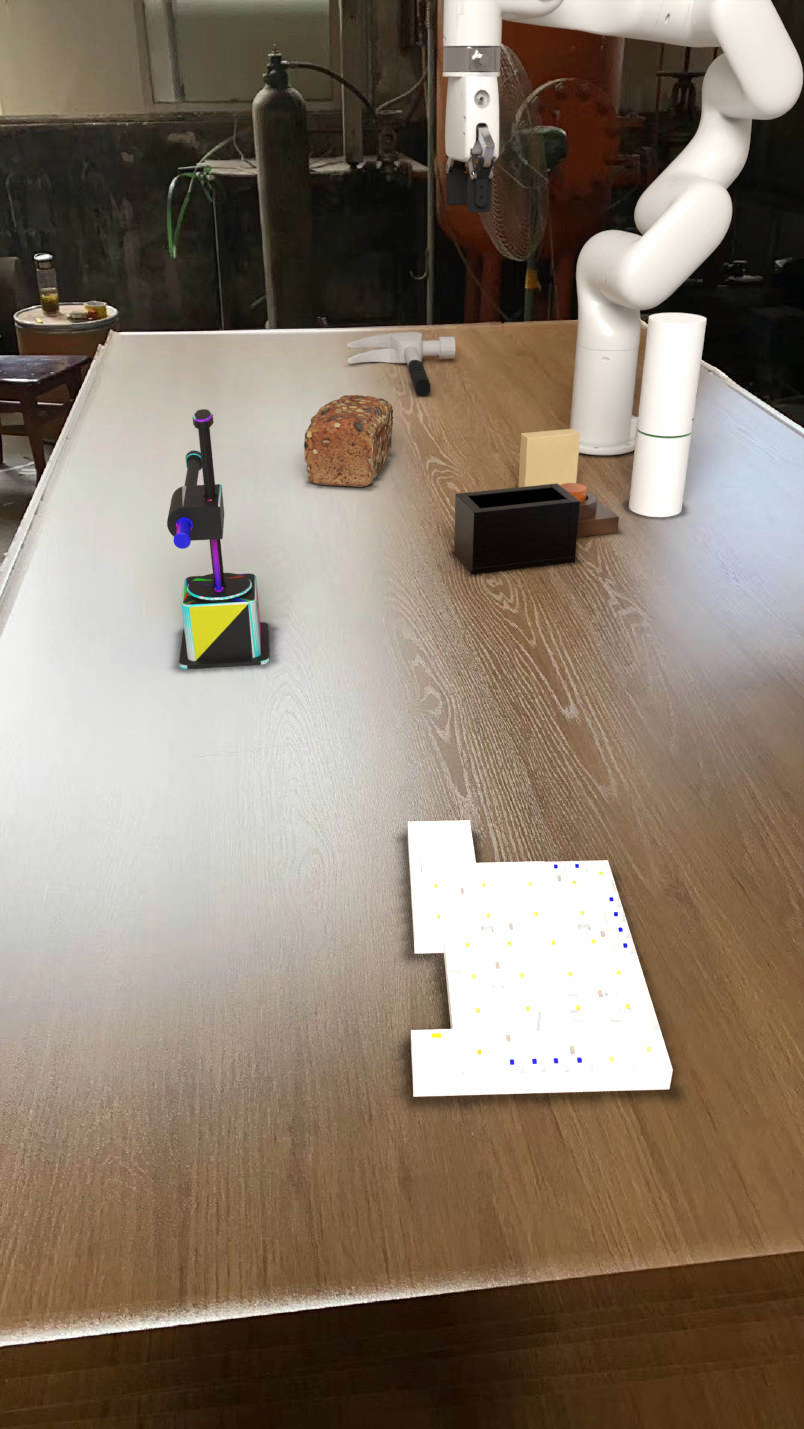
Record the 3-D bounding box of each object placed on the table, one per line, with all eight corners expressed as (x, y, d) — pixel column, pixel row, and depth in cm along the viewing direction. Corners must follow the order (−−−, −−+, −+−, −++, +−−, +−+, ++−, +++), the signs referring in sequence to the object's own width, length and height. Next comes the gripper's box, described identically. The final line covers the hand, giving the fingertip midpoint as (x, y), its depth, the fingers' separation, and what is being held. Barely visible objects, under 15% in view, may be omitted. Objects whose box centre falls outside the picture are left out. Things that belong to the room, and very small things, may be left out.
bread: (373, 490, 157) (372, 421, 152) (301, 486, 158) (298, 417, 153) (396, 451, 172) (395, 387, 167) (330, 448, 174) (328, 385, 169)
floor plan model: (413, 1096, 64) (413, 1074, 63) (400, 838, 86) (400, 819, 85) (669, 1089, 65) (673, 1067, 64) (592, 834, 86) (594, 815, 85)
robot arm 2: (269, 678, 108) (251, 435, 96) (177, 683, 108) (146, 439, 95) (267, 578, 130) (251, 369, 117) (190, 582, 129) (166, 372, 116)
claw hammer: (473, 371, 200) (452, 330, 225) (353, 375, 198) (346, 333, 223) (472, 401, 203) (452, 357, 228) (354, 404, 201) (346, 360, 226)
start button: (578, 494, 144) (580, 481, 143) (590, 503, 141) (591, 490, 140) (553, 497, 143) (554, 484, 142) (564, 506, 140) (565, 493, 139)
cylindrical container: (684, 502, 152) (709, 314, 139) (678, 519, 146) (703, 325, 133) (632, 496, 154) (652, 311, 141) (624, 513, 148) (644, 321, 135)
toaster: (553, 542, 139) (557, 483, 135) (575, 562, 134) (580, 501, 130) (453, 553, 136) (455, 493, 132) (472, 574, 130) (474, 512, 126)
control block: (591, 512, 149) (594, 483, 146) (617, 532, 142) (620, 503, 140) (523, 519, 146) (525, 491, 144) (546, 541, 140) (548, 511, 138)
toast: (569, 482, 159) (573, 428, 155) (576, 488, 157) (580, 433, 153) (518, 488, 157) (520, 433, 153) (524, 493, 155) (527, 438, 151)
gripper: (521, 63, 135) (514, 214, 144) (477, 64, 150) (473, 201, 158) (464, 63, 134) (460, 216, 142) (425, 64, 148) (424, 202, 157)
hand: (467, 208), depth 150 cm, fingers open, 9 cm apart
